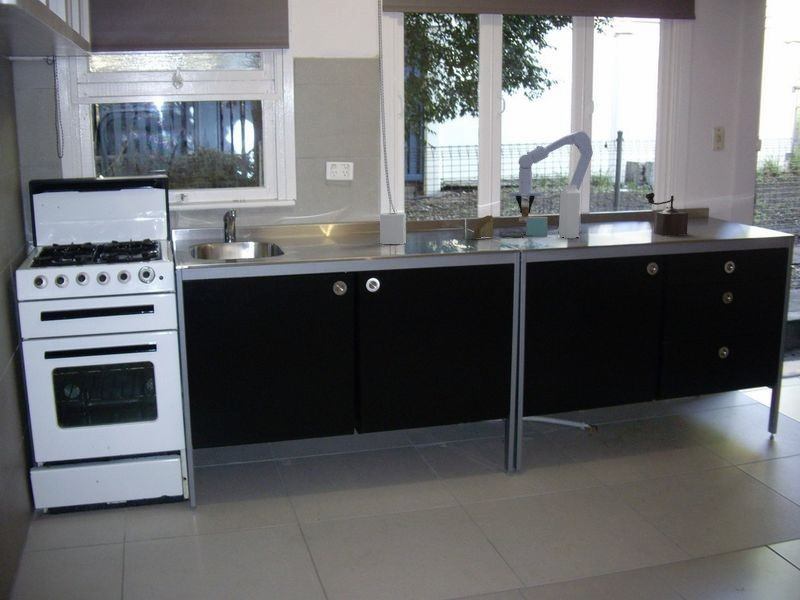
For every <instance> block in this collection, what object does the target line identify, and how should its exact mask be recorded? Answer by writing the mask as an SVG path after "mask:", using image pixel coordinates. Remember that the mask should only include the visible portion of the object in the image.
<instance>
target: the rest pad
mask: <svg viewBox="0 0 800 600" xmlns="http://www.w3.org/2000/svg"><path fill="white" fill-rule="evenodd" d="M524 235H525V232H524V231H503V232H502V234H501V238H502V237H513V238H512V239H524ZM521 237H522V238H521Z"/></svg>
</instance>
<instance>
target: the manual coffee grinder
mask: <svg viewBox="0 0 800 600" xmlns="http://www.w3.org/2000/svg"><path fill="white" fill-rule="evenodd" d="M644 195H645V199H647V201H648V202H647V204H651V205H656V206H657V205H658V206H659V205H663V204H667V203H670V206H669V207H668V206H666V208H665V209H663V210H660V211H655V212H654V223H653V234H656V235H660V234H661V235H660V236H665V235H675V236H680V235H679V234H687V235H688V221H689V220H688V219H689V214H688V212H682V211H680V210H679V209H677V208H674V206H673V205H674V201H675V198H674V197H675V196H674V195H671V196H670V198H669V199H668V200H666V201H660V202H655V199H654V198H655V192H652V191H649V192H647V193H645V194H644Z"/></svg>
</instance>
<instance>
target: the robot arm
mask: <svg viewBox="0 0 800 600" xmlns="http://www.w3.org/2000/svg"><path fill="white" fill-rule="evenodd" d="M567 145H570V146H572V145H574V146H576V148H577V149H578V152H579V154H580V156H579V158H578V161H577V163H576V166H575V169H574V172H573V174H572V177H571V179H570V182H569V184H568V185H577V189H578V191H579V192H580V188H581V185H582V183H583V181H584V178H585V175H586V172H587V171H588V169H589V165H590V162H591V160H592V157H593V153H594V152H593V147H592V143H591V138H590V137H589V135H588V133H587V132H585V131H583V130H576V131H574V132H572V133H569V134H566V135H564V136H562V137H560V138H558V139H557V140H555V141H553V142H552V143H550V144H548V145H546V146H544V145H537V146H536V148H534V149H532V150H531V151H526V154H523V155H521V156H520V157H519V159H518V165H519V168H518V170H519V172H518V191H508V198H512V197H514V198H515V200H516V203H517V205H518V208H519V213H520V214H522V203H523V202H522V201H523V200H522V198H523V197H527V198H528V205H529V214H531V210H532V205H533V203H534V201H535V198H536V197H543V192H542V191H532V190H533V171H532V167H533V164H537V163H539V162H541V161H543V160H545V159H547V158H548V157H549V154H550V153H552V152H554V151H556V150H559V149H560V148H562V147H563V146H567ZM581 213H582V212H581V211H580V214H579V233H581V228H582V224H581V222H582V221H581V219H582V217H581ZM558 217H559V218H558V219H559V222H558V223H559V224H558V225H559V226H558V228H557V231H558V233H559V227H560V215H559V216H558Z"/></svg>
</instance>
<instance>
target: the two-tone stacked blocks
mask: <svg viewBox="0 0 800 600" xmlns="http://www.w3.org/2000/svg"><path fill="white" fill-rule="evenodd" d="M521 205H522V204H521ZM529 215H530V213H529V204H527V205H522V213H521V216H519V218H518V222H519V223H526V217H532V216H529Z"/></svg>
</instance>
